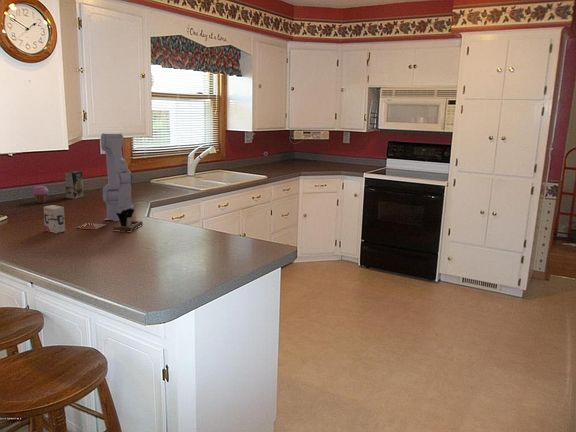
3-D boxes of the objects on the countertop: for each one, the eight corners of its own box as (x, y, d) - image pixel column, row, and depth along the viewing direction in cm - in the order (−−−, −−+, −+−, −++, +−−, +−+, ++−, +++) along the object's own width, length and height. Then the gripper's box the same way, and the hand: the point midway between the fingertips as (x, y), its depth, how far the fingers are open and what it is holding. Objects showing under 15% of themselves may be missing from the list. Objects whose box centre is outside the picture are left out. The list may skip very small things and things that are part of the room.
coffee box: (75, 198, 293) (73, 172, 290) (65, 198, 295) (64, 172, 291) (84, 196, 302) (82, 171, 299) (75, 195, 303) (73, 170, 300)
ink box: (44, 231, 217) (42, 206, 215) (54, 229, 221) (52, 204, 219) (56, 234, 213) (54, 208, 210) (66, 232, 217) (64, 207, 215)
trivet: (86, 224, 233) (86, 223, 233) (106, 225, 232) (106, 224, 232) (75, 229, 223) (75, 227, 223) (96, 230, 222) (96, 229, 222)
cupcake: (48, 203, 276) (47, 186, 274) (31, 204, 273) (30, 186, 271) (50, 200, 284) (48, 184, 282) (33, 201, 281) (32, 184, 279)
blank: (123, 226, 231) (123, 216, 230) (131, 227, 231) (131, 217, 230) (120, 228, 228) (119, 218, 226) (128, 229, 227) (127, 219, 226)
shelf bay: (126, 224, 237) (126, 220, 236) (142, 225, 236) (142, 221, 235) (113, 231, 223) (113, 227, 222) (129, 232, 222) (129, 228, 221)
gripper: (126, 200, 219) (127, 228, 222) (139, 195, 233) (139, 222, 236) (111, 199, 219) (112, 227, 222) (125, 194, 233) (126, 221, 236)
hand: (125, 224), depth 229 cm, fingers closed on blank, 4 cm apart
